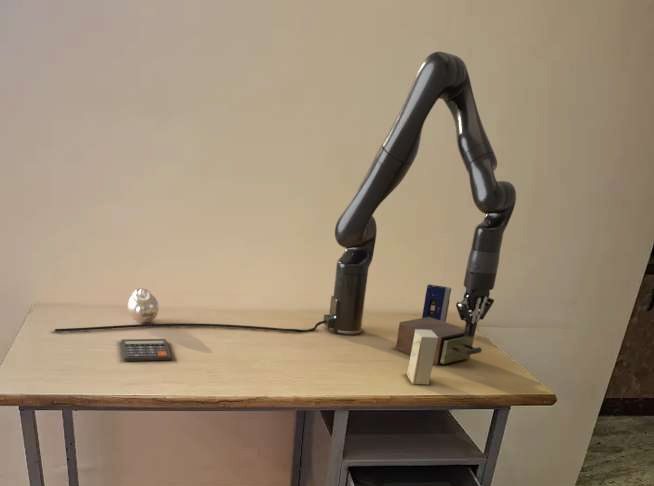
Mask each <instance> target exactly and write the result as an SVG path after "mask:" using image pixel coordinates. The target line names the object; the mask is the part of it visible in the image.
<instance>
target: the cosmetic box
mask: <svg viewBox="0 0 654 486" xmlns="http://www.w3.org/2000/svg"><path fill="white" fill-rule="evenodd" d="M437 341H438V337H437V335H436V334H435V333H434V332H433V331H432V330H423V329H415V334H414V340H413V345H412V351H411V355H409V356H410V357H409V360H408V361H409V362H408V368H407V372H406V376H407V377H408V380H410V382H411V383H412V384H413V385H429V384H430V381H431V375H432V371H433V365H434V364H433V361H434V356H435V351H436V346H437Z"/></svg>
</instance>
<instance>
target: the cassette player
mask: <svg viewBox="0 0 654 486" xmlns="http://www.w3.org/2000/svg"><path fill="white" fill-rule="evenodd" d="M451 293H452V288H451V287H449V286H443V285H435V284H427V286H426V291H425V298H424V303H423V311H422V314H421V318H426V317H431V318H434V319H437V320H440V321H443V322H446V323H447V318H448V311H449V307H450V299H451Z"/></svg>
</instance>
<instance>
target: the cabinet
mask: <svg viewBox="0 0 654 486" xmlns="http://www.w3.org/2000/svg"><path fill="white" fill-rule="evenodd" d="M415 329H423V330H432V331H433V332H434V333H435V334H436V335H437V337H438V341H437V346H436V351H435V356H434V361H433V365H434V366H440V365H443V364H442V363H440V361H441V360H439V357H440V352H441V346H442V341H443V339H445V338H450V337H455V336H460V335H464V330H465V327H464V328H463V327H461V326H458V325H454V324H452V323H449V322H447V321H446V322H443V321H440V320H437V319H434V318H431V317H426V318H422V317H421V318H415V319H410V320H403V321H399V323H398V332H397V337H396V338H397V339H396V344H395V350H397V351H399V352H401V353H404V354H407V355H409V356H411V351H412V345H413V340H414V334H415Z"/></svg>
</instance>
